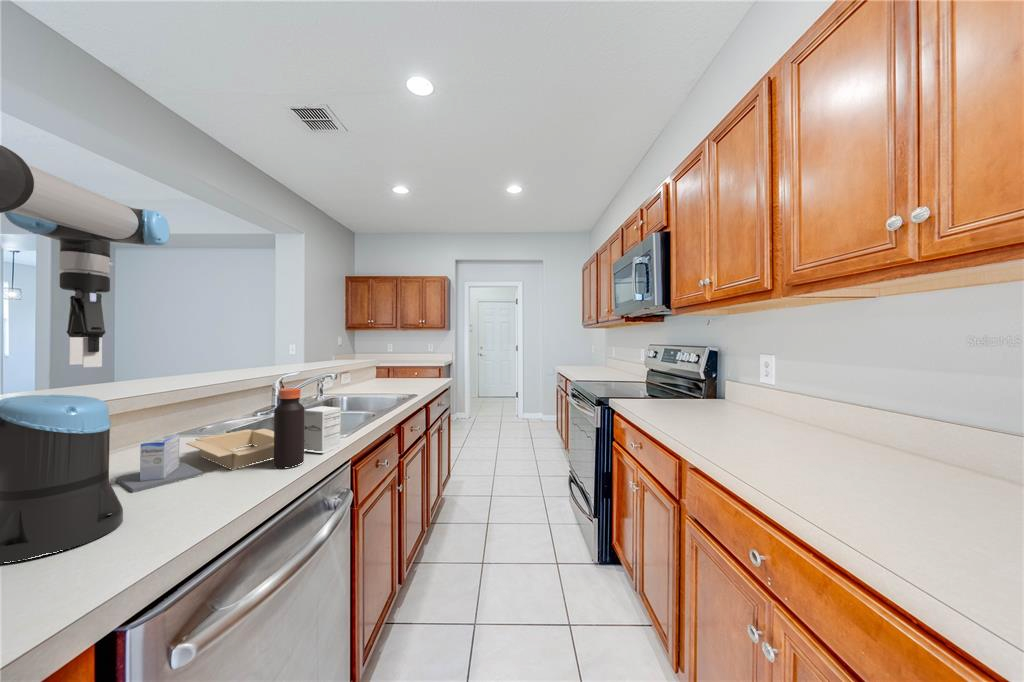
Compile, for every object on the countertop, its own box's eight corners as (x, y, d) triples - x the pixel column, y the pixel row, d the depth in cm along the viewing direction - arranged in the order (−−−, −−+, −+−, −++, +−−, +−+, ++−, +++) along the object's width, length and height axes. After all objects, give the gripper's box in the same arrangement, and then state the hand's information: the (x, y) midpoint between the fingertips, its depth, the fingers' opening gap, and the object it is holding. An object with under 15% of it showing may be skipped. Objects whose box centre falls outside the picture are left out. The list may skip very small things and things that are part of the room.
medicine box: (156, 470, 88) (156, 435, 88) (179, 467, 90) (180, 433, 90) (139, 482, 81) (139, 443, 81) (165, 479, 83) (165, 441, 83)
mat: (202, 475, 87) (202, 471, 87) (132, 492, 77) (132, 488, 77) (183, 465, 94) (183, 462, 94) (116, 480, 83) (116, 477, 83)
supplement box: (301, 452, 105) (302, 409, 105) (321, 445, 113) (322, 405, 113) (321, 455, 103) (322, 411, 103) (341, 447, 110) (341, 406, 110)
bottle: (309, 461, 98) (310, 388, 98) (291, 470, 91) (292, 391, 91) (286, 460, 99) (287, 387, 99) (267, 468, 92) (267, 390, 92)
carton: (304, 454, 103) (304, 439, 103) (223, 476, 87) (223, 457, 87) (259, 440, 117) (259, 427, 117) (181, 457, 100) (181, 441, 100)
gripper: (125, 271, 80) (124, 367, 80) (96, 280, 93) (95, 362, 93) (72, 265, 73) (71, 369, 73) (49, 275, 86) (48, 364, 86)
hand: (84, 365), depth 83 cm, fingers open, 13 cm apart
